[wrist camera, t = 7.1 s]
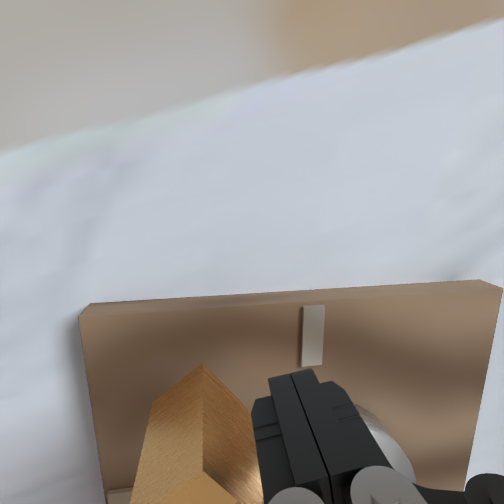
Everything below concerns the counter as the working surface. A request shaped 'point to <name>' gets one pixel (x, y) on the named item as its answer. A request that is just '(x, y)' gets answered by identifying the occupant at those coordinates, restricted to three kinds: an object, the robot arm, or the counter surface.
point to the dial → (215, 447)
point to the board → (301, 362)
